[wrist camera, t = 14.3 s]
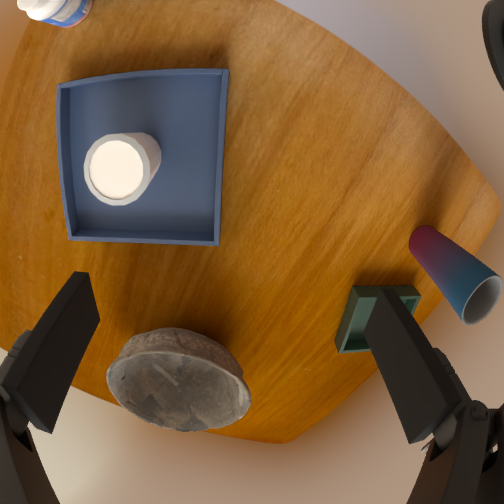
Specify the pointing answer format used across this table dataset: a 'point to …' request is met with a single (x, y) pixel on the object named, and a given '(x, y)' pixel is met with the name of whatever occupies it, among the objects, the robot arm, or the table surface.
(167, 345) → the bowl
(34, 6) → the pill bottle
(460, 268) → the cup
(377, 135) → the table surface
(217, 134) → the near tray
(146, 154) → the white faceted candle
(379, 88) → the table surface
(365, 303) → the far tray
